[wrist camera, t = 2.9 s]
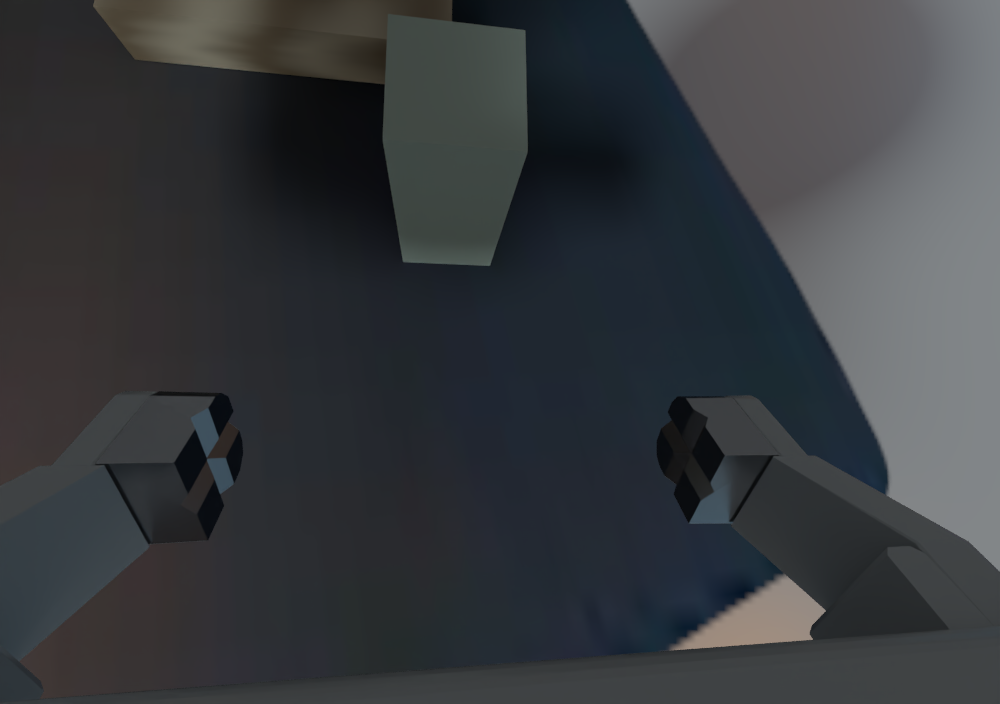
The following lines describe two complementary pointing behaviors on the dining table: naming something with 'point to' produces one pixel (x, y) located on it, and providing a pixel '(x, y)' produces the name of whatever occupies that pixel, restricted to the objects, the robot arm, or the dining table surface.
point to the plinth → (266, 33)
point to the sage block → (453, 135)
